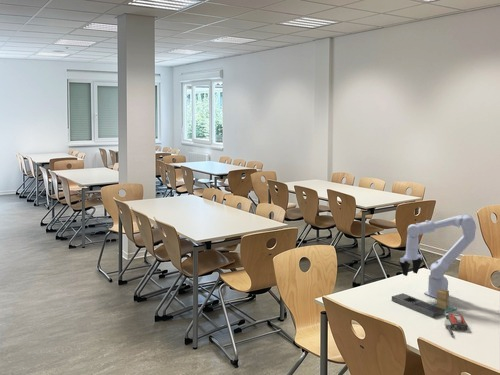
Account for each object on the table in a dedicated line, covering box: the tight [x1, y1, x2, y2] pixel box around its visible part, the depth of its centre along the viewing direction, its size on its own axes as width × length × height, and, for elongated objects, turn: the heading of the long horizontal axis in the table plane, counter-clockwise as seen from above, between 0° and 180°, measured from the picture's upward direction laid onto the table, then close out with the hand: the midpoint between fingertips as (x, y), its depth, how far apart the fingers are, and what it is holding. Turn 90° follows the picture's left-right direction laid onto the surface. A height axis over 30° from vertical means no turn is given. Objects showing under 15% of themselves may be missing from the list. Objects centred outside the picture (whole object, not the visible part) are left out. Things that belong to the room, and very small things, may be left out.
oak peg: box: [435, 289, 450, 309], centre depth 228 cm, size 4×4×8 cm
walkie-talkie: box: [443, 312, 469, 336], centre depth 207 cm, size 9×4×20 cm
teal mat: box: [432, 303, 457, 314], centre depth 228 cm, size 9×9×1 cm
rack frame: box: [391, 292, 446, 319], centre depth 229 cm, size 8×24×2 cm, turn 32°
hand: (410, 274), depth 248 cm, fingers open, 7 cm apart
